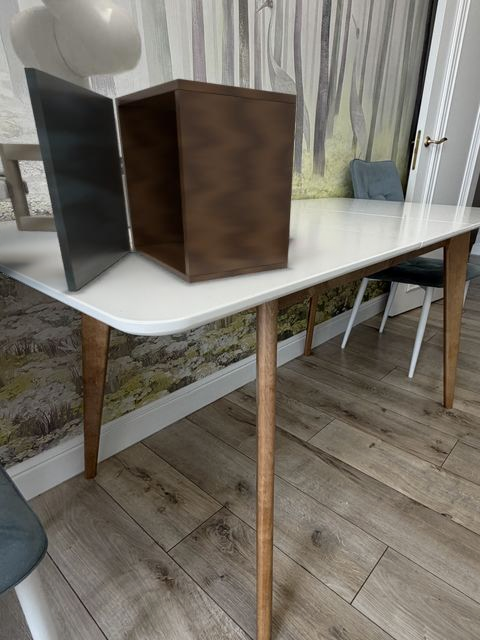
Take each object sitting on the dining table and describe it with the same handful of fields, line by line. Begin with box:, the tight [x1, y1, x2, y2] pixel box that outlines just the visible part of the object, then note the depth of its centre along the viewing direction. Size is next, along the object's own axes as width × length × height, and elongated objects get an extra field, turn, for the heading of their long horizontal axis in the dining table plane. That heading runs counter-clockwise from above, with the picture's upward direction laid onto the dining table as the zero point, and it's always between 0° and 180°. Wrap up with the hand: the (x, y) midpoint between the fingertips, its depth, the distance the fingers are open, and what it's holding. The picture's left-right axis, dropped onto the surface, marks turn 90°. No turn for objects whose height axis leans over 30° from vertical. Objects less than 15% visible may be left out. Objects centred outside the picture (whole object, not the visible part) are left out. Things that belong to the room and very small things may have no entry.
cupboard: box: [114, 78, 298, 284], centre depth 58 cm, size 16×22×22 cm
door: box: [0, 66, 132, 292], centre depth 51 cm, size 7×22×22 cm, turn 0°
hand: (17, 188), depth 44 cm, fingers closed on door, 2 cm apart
